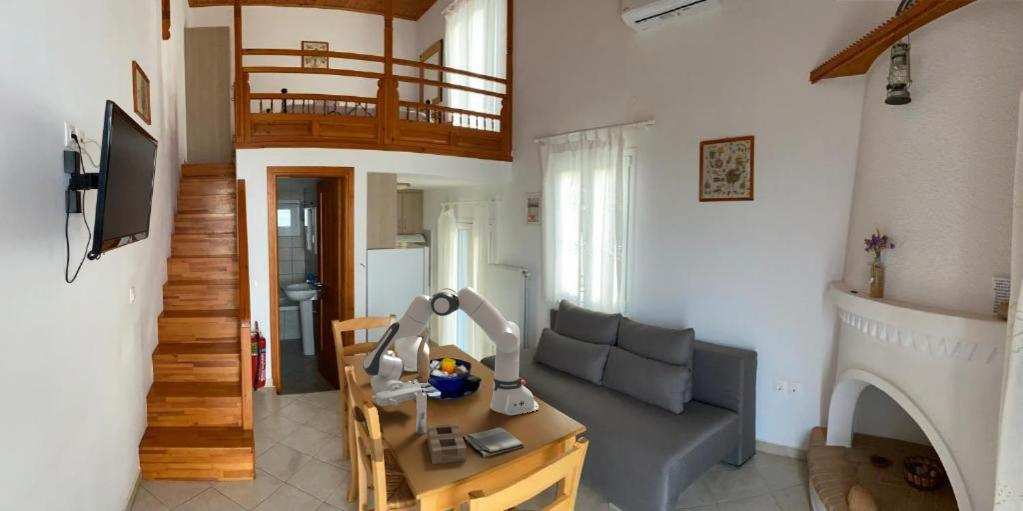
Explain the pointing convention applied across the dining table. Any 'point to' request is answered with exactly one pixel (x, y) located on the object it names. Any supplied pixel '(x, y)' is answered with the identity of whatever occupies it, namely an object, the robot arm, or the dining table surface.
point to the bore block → (446, 443)
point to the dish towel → (493, 441)
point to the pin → (421, 412)
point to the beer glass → (390, 353)
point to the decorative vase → (410, 352)
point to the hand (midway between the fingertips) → (407, 401)
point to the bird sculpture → (423, 358)
